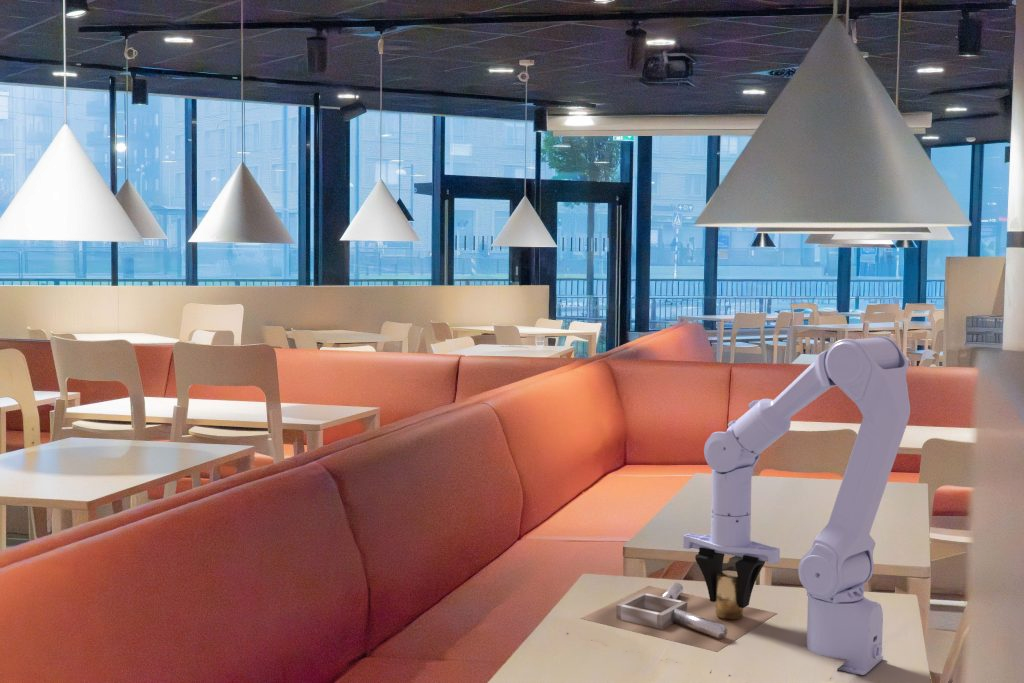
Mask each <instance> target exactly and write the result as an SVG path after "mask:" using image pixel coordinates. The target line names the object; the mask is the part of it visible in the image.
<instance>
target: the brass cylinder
mask: <svg viewBox="0 0 1024 683" xmlns="http://www.w3.org/2000/svg"><path fill="white" fill-rule="evenodd" d="M738 590H739V585H738V575H737V572H736V571H719V572H717V573H716V609H715V614H716V615H717V616H718V617H721V618H726V619H738V618H741V617H743V608H740V607H739V605H738Z"/></svg>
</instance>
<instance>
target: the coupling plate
mask: <svg viewBox="0 0 1024 683" xmlns="http://www.w3.org/2000/svg"><path fill="white" fill-rule="evenodd" d="M667 590H668V589H666V588H660V587H656V586H655V587H654V586H651V585H648V586H645V587H644V588H641V589H639V590H637V591H635V592H633V593H631V594H628V595H626V596H624V597H622V598H620V599H618V600H616V601H614V602H612V603H610V604H608V605H605V606H603V607H601V608H599V609H597V610H595V611H592V612H590V613H589V614H587V615H584V616H582V617H580V619H581V620H584V621H588V622H593V623H596V624H602V625H604V626H609V627H613V628H616V629H617V628H618V629H621V630H626V631H629V632H634V633H637V634H638V633H639V634H643V635H646V636H650V637H655V638H659V639H662V640H666V641H670V642H675V643H679V644H683V645H688V646H691V647H695V648H700V649H704V650H707V651H712V652H716V653H718V652H719V651H721V650H722V649H724V648H726V647H727V646H728V645H731V644H732V643H734V642H735V641H736V640H738V639H740V638H741V637H743V636H744V635H746V634H747V633H749V632H751V631H752V630H754V629H756V628H757V627H758V626H760V625H762V624H763V623H764V622H766V621H768V620H769V619H771V618H773V617H775V616H776V615H777V614H778V612H776V611H775V612H774V611H769V610H764V609H759V608H757V607H756V608H755V607H750V606H746V607H744V608H743V617H741V618H738V619H726V618H721V617H718V616H717V615H716V614H715V609H716V601H715V602H711V601H710V598H708V597H703V596H698V595H694V594H688V593H684V592H682V594H681V595H680V596H679V597H678V599H677V600H675V599H670V598H666V597H662V596H663V594H664V593H665V592H666V591H667ZM674 609H679V610H682V611H685V612H688V613H691V614H693V615H696V616H699V617H702V618H705V619H708V620H711V621H713V622H716V623H719V624H722V625H725V626H726V627H727V635H726V637H725V638H724V639H722V640H720V639H718V638H715V637H712V636H709V635H707V634H704V633H701V632H699V631H696V630H693V629H690V628H688V627H685V626H682V625H679V624H677V623H674V622H672V619H671V616H672V612H673V610H674Z"/></svg>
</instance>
